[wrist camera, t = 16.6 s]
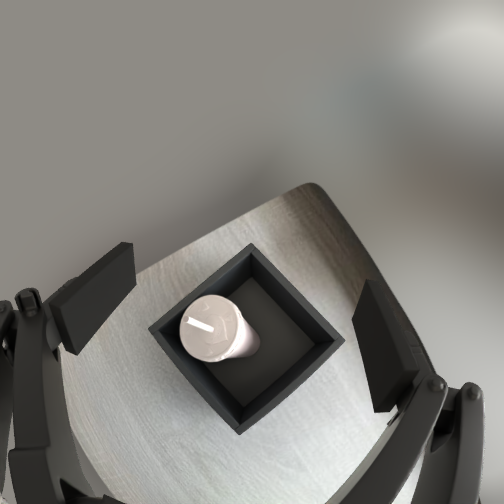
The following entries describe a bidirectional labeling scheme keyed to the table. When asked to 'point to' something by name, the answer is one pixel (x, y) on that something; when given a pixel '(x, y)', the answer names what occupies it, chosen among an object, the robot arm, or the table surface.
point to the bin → (271, 340)
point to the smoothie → (217, 330)
